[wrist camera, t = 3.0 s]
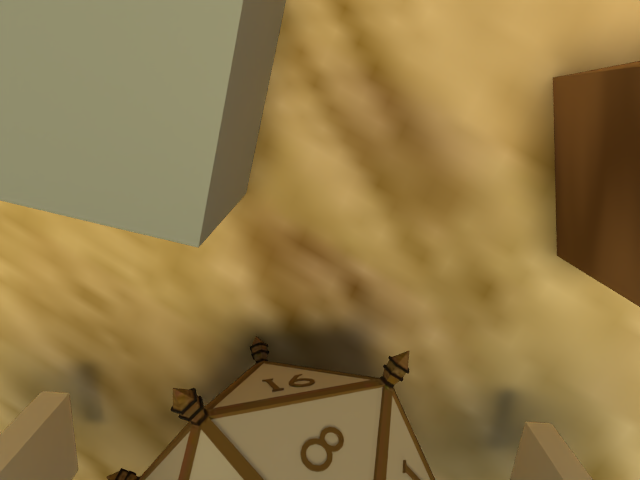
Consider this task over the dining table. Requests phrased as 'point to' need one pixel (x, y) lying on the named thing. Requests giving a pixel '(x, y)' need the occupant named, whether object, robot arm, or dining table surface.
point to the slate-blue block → (134, 108)
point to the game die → (293, 428)
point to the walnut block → (599, 174)
